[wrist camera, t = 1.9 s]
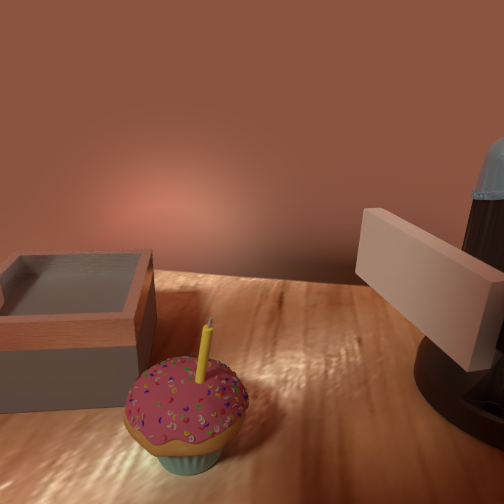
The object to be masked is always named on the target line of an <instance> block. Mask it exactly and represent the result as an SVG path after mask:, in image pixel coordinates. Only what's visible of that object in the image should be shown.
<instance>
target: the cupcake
mask: <svg viewBox="0 0 504 504" xmlns="http://www.w3.org/2000/svg"><path fill="white" fill-rule="evenodd" d="M212 320H213V317H210V319H209V323H208V325H204V326H203V331H202V337H201V344H200V350H199V357H197V356H196V357H195V356H191V355H188V356H187V357H186V356H182V357H173V358H171V359H167V360H165V361H162V362H160V363H158V364H156V365H154V366H152V367H151V368H150V369H148V370H145V371H144V372H143V373H142V374H141V376H139V377H138V378H136V379H135V380H136V382H135V383H134V384H133V386H132V387H131V389H130V391H129V393H128V395H127V399H126V405H125V409H124V416H123V418H124V424H125V426H126V428H127V430H128V432H129V433H130V435H131V436H132V437H133V438H134V439H135V440H136V441H137V442H138V443H139V444H140V445H141V446H142V447H143V448H144V449H146V450H147V451H148V452H149V453H150V454H151V455H153V456H156V457H158V459H159V461H160V463H161V465H162V466H163V467H164V468H165V469H167V470H168V471H170V472H172V473H174V474H178V475H195V474H199V473H201V472H204V471H206V470H207V469H209V468H210V467H212V466H213V465H214V464H215V463H216V461H217V460H218V459H219V457H220V455H221V452H222V449H223V447H224V445H225V444H227V443H228V442H229V441H231V440H232V439H234V438H235V437H236V436H237V434H238V432H239V430H240V427H241V425H242V422H243V420H244V417H245V411H246V409H247V408H248V405H249V399H248V394H247V389H246V388H245V387H244V386H243V384H242V383H241V381H240V379H238V377H237V376H236V373H235V372H234V371H233V372H232V370H230V367H228V368H227V366H226V365H225V364H221V362H220V361H218V360H217V361H218V362H217V361H216V360H214V359H213V360H212V359H209V358H208V357H209V351H210V345H211V339H212V333H213V327H212V326H211V324H212ZM234 373H235V374H234Z"/></svg>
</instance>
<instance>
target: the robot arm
mask: <svg viewBox="0 0 504 504" xmlns="http://www.w3.org/2000/svg"><path fill="white" fill-rule="evenodd" d="M471 197H472V198H473V202H472V206H471V211H470V215H469V220H468V224H467V229H466V233H465V237H464V242H463V246H462V250H459V249H458V248H456V247H454V246H452V245H450V244H448V243H446V242H445V241H443V240H441V239H439V238H437V237H435V236H433V235H431V234H429V233H427V232H426V231H424V230H422V229H420V228H418V227H416V226H415V225H413V224H411V223H409V222H407V221H405V220H403V219H401V218H400V217H398V216H396V215H394V214H392V213H390V212H388V211H386V210H385V209H383V208H370V209H369V208H367V209H364V213H363V220H362V228H361V235H360V242H359V249H358V257H357V264H356V271H355V273H356V274H357V275H359V276H360V277H361V278H362V279H363V280H364V281H365V282H366V283H367V284H369V285H370V286H371V287H372V288H373V289H374V290H375V291H376V292H378V293H379V294H380V295H381V296H382V297H383V298H384V299H385V300H387V301H388V302H389V303H390V304H391V305H392V306H393V307H394V308H396V309H397V310H398V311H399V312H400V313H401V314H402V315H403V316H405V317H406V318H407V319H408V320H409V321H410V322H411V323H412V324H414V325H415V326H416V327H417V328H418V329H419V330H420V331H422V332H423V333H424V334H425V335H426V336H425V337H424V338H423V339H422V341H421V343H420V345H419V347H418V351H417V355H416V360H415V365H414V377H415V381H416V384H417V386H418V388H419V390H420V392H421V393H422V395H423V396H424V397H425V399H426V400H427V401H428V402H429V403H430V405H431V406H432V407H433V408H434V409H435V410H436V411H438V412H439V413H440V414H441V415H442V416H443V417H445V418H446V419H447V420H448V421H450V422H451V423H453V424H454V425H456V426H457V427H459V428H460V429H462V430H463V431H465V432H467V433H469V434H470V435H472V436H474V437H476V438H478V439H480V440H482V441H484V442H486V443H489V444H491V445H494V446H496V447H499V448H502V449H504V137H502V138H500V139H498V140H497V141H496V142H494V143H493V144H492V145H491V146H490V147H489V149H488V150H487V152H486V155H485V158H484V161H483V164H482V167H481V171H480V175H479V177H478V181H477V184H476V187H475V188H474V189H473V191H472V194H471ZM3 304H4V298H3V293H2V288H1V283H0V309H1V307H2V306H3Z"/></svg>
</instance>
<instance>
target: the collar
mask: <svg viewBox="0 0 504 504" xmlns="http://www.w3.org/2000/svg"><path fill="white" fill-rule="evenodd" d="M153 271H154V270H153V255H152V250H151V249H144V250H143V249H141V250H91V251H89V250H86V251H33V252H31V251H30V252H13V253H12V254H11V255H10V256H9V257H8V258H6V259H5V260H4V261H3V262H2V263H1V264H0V283H1V288H2V293H3V298H4V301H5V300H6V298H7V297H8V296H9V295H10V294H11V293H12V291H13V290H14V289H15V288H16V287H17V286H18V284H19V283H20V282H21V281H22V280H23V279H24V278H32V277H72V276H112V275H134V278H133V281H132V284H131V287H130V290H129V293H128V296H127V299H126V302H125V306H124V309H123V312H108V313H78V314H49V315H20V316H0V351H23V350H46V349H69V348H92V347H115V346H136V344H137V340H138V336H139V331H140V327H141V323H142V318H143V314H144V310H145V305H146V301H147V297H148V292H149V288H150V284H151V279H152V275H153Z"/></svg>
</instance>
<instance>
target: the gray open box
mask: <svg viewBox="0 0 504 504" xmlns="http://www.w3.org/2000/svg"><path fill="white" fill-rule="evenodd" d="M133 278H134V275H112V276H72V277H32V278H24V279H23V280H22V281H21V282H20V283H19V284H18V286H17V287H16V288H15V289H14V290H13V291H12V293H11V294H10V295H9V296H8V297H7V298H6V300H5V301H4V304H3V306H2V307H1V309H0V316H20V315H49V314H78V313H108V312H123V309H124V306H125V302H126V299H127V296H128V293H129V290H130V287H131V284H132V281H133ZM156 320H157V314H156V299H155V284H154V271H153V275H152V279H151V284H150V288H149V292H148V297H147V301H146V305H145V310H144V314H143V318H142V323H141V327H140V331H139V336H138V340H137V344H136V346H115V347H92V348H69V349H46V350H23V351H0V414H4V413H21V412H38V411H55V410H72V409H89V408H106V407H123V406H125V405H126V399H127V395H128V393H129V391H130V389H131V387H132V386H133V384H134V383H135V382H136V380H135V379H136V378H138V377H139V376H141V374H142V373H143V372H144V371H145V370H148V366H149V360H150V355H151V349H152V343H153V337H154V331H155V326H156Z"/></svg>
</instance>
